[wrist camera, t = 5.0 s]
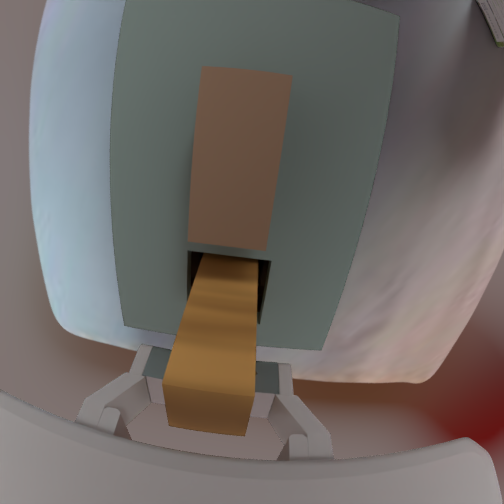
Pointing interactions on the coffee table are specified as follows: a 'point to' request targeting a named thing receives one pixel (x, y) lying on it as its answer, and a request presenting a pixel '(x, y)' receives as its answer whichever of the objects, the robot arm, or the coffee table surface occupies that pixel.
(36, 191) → the coffee table surface
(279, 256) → the toolbox lid
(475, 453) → the robot arm
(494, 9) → the syrup box
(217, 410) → the wooden block
